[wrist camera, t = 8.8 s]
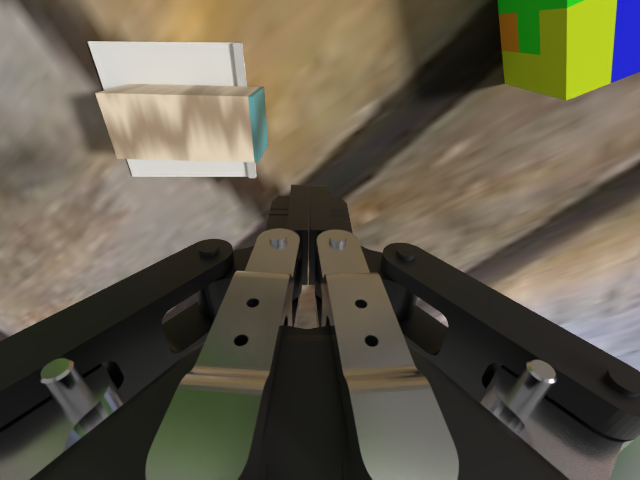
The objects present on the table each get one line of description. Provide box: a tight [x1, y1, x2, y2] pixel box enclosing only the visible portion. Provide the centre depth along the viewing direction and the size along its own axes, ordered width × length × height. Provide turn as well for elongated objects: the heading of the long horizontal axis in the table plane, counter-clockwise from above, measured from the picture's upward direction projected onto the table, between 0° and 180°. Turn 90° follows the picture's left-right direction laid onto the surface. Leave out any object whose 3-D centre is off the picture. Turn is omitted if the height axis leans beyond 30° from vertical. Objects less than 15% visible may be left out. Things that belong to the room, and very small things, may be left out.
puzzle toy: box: [497, 0, 640, 100], centre depth 27 cm, size 10×10×10 cm
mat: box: [88, 41, 256, 178], centre depth 35 cm, size 14×15×1 cm
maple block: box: [95, 84, 268, 162], centre depth 32 cm, size 6×6×14 cm
